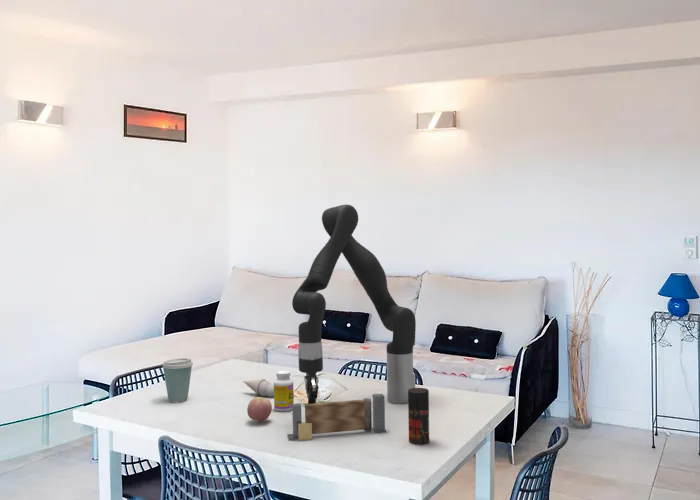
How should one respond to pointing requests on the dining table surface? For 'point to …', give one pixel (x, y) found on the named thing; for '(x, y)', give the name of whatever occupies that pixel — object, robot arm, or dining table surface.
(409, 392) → the deodorant
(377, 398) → the hinge post
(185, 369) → the disposable coffee cup
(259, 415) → the apple
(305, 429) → the toy blocks
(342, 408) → the gate
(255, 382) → the ice cream cone
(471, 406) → the dining table surface
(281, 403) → the supplement bottle
